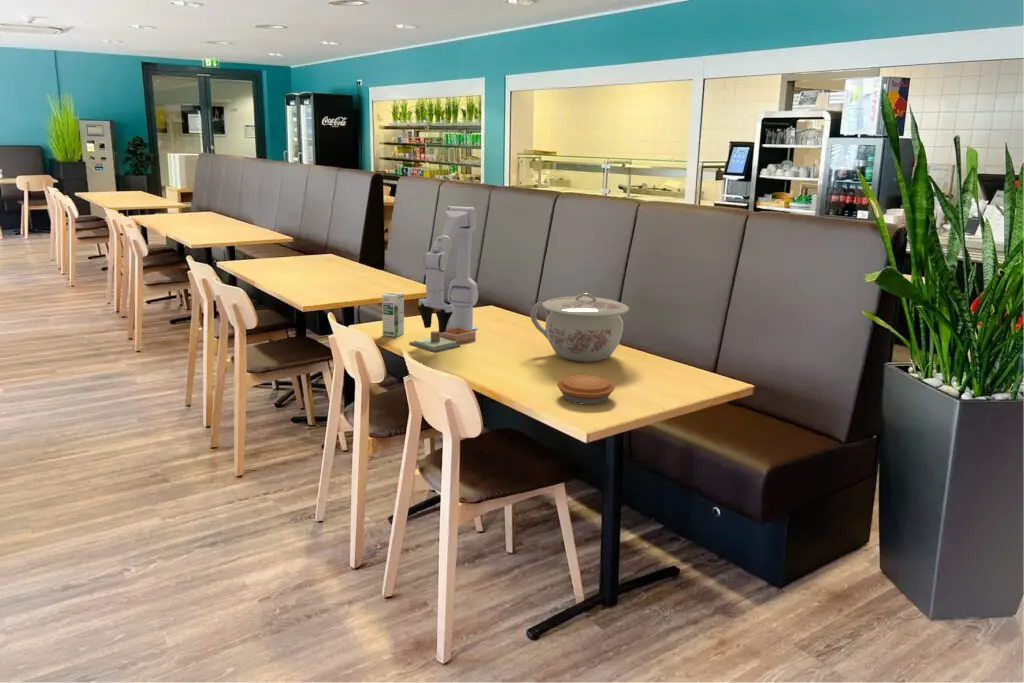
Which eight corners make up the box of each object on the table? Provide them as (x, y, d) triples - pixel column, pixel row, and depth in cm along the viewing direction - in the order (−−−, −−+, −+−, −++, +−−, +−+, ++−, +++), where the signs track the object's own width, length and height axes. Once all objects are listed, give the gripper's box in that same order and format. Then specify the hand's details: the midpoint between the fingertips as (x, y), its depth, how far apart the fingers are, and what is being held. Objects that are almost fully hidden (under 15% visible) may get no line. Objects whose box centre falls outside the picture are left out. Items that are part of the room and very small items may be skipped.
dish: (438, 339, 264) (438, 330, 264) (457, 335, 271) (458, 326, 270) (455, 344, 258) (455, 335, 258) (475, 340, 265) (475, 331, 264)
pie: (593, 386, 219) (593, 369, 218) (625, 403, 206) (626, 385, 205) (545, 393, 212) (546, 375, 211) (576, 411, 199) (577, 392, 198)
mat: (409, 344, 257) (409, 342, 257) (435, 338, 265) (435, 337, 265) (434, 352, 248) (434, 350, 248) (460, 346, 256) (460, 344, 256)
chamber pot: (643, 362, 244) (648, 297, 239) (573, 373, 230) (576, 305, 225) (589, 341, 267) (593, 282, 262) (522, 350, 253) (524, 288, 248)
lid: (414, 342, 257) (414, 331, 256) (437, 338, 263) (437, 327, 262) (433, 348, 250) (433, 337, 249) (455, 344, 257) (455, 332, 256)
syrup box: (382, 335, 267) (381, 294, 263) (389, 332, 272) (389, 291, 269) (397, 337, 265) (396, 295, 262) (404, 333, 271) (404, 292, 267)
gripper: (411, 287, 254) (411, 327, 257) (439, 294, 244) (439, 336, 248) (428, 284, 259) (428, 324, 262) (456, 291, 249) (456, 332, 253)
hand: (434, 329), depth 255 cm, fingers open, 7 cm apart
